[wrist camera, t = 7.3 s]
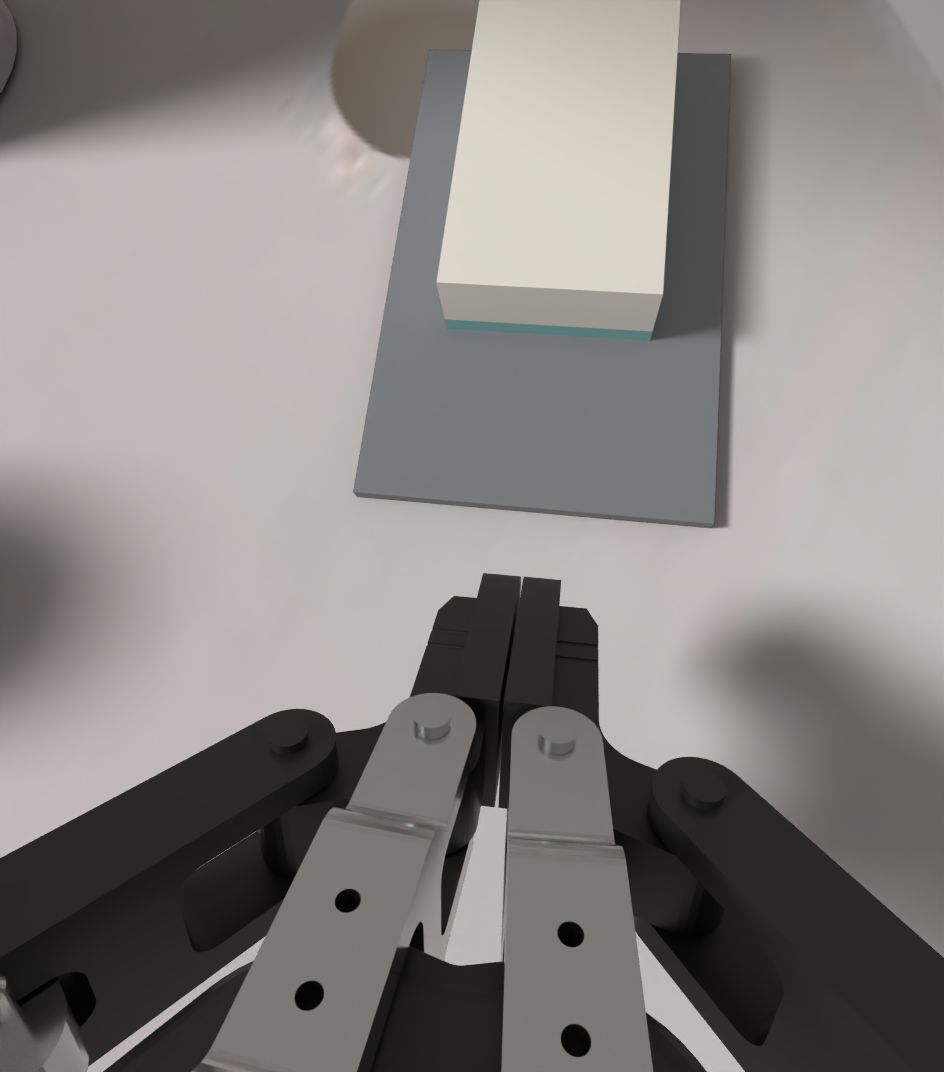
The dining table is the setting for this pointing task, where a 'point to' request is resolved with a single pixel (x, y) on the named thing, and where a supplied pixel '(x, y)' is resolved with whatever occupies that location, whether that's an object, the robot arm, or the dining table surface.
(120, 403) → the dining table surface
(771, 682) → the dining table surface
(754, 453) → the dining table surface
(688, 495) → the mat
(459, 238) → the tile
